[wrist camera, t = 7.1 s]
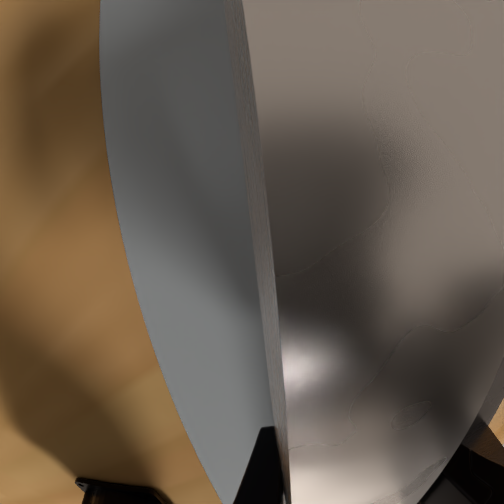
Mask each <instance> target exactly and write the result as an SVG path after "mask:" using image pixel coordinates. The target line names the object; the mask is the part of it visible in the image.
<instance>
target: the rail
mask: <svg viewBox="0 0 504 504" xmlns="http://www.w3.org/2000/svg"><path fill="white" fill-rule="evenodd" d="M223 2H224V10H225V18H226V26H227V35H228V43H229V51H230V59H231V67H232V75H233V84H234V92H235V100H236V108H237V117H238V125H239V133H240V141H241V150H242V158H243V166H244V175H245V183H246V191H247V200H248V208H249V216H250V225H251V233H252V242H253V250H254V258H255V267H256V275H257V284H258V292H259V300H260V309H261V317H262V326H263V334H264V343H265V351H266V360H267V368H268V377H269V385H270V394H271V402H272V411H273V420H274V428H275V435H276V441H277V446H278V451H279V457H280V462H281V471H282V481H283V491H284V504H417V503H418V502H419V500H420V499H421V498H422V497H423V496H424V494H425V493H426V492H427V491H428V489H429V488H430V487H431V485H432V484H433V483H434V481H435V480H436V479H437V477H438V476H439V475H440V473H441V472H442V470H443V469H444V468H445V466H446V465H447V463H448V462H449V460H450V459H451V457H452V456H453V454H454V453H455V451H456V450H457V448H458V447H459V445H460V443H461V442H462V440H463V438H464V437H465V435H466V433H467V432H468V430H469V428H470V427H471V425H472V423H473V421H474V419H475V418H476V416H477V414H478V412H479V410H480V408H481V406H482V404H483V402H484V400H485V398H486V396H487V394H488V392H489V390H490V388H491V385H492V383H493V381H494V379H495V376H496V374H497V372H498V369H499V367H500V365H501V362H502V360H503V357H504V0H223Z"/></svg>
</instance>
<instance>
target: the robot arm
mask: <svg viewBox="0 0 504 504" xmlns="http://www.w3.org/2000/svg"><path fill="white" fill-rule="evenodd" d="M75 484H76V485H77V486H78V487H79V488H80V489H81V490H83V491H84V492H85V494H84V498H83V501H82V504H166V502H165V501H164V500H163V499H162V498H161V497H160V496H159V495H158V493H157V492H156V491H155V490H153V489H149V488H141V487H131V486H123V485H116V484H109V483H103V482H97V481H91V480H86V479H81V478H76V480H75ZM233 504H284V491H283V481H282V471H281V462H280V457H279V451H278V446H277V441H276V435H275V428H274V426H266V427H261V428H260V430H259V433H258V436H257V439H256V442H255V445H254V448H253V451H252V453H251V456H250V459H249V462H248V465H247V467H246V470H245V473H244V476H243V478H242V481H241V484H240V486H239V489H238V492H237V494H236V497H235V499H234V502H233ZM417 504H504V466H503V465H500V464H498V463H496V462H494V461H491V460H489V459H488V458H486V457H484V456H482V455H480V454H478V453H477V452H475V451H473V450H470V448H468V447H466V446H465V445H463V444H461V443H460V445H459V447H458V448H457V450H456V451H455V453H454V454H453V456H452V457H451V459H450V460H449V462H448V463H447V465H446V466H445V468H444V469H443V470H442V472H441V473H440V475H439V476H438V477H437V479H436V480H435V481H434V483H433V484H432V485H431V487H430V488H429V489H428V491H427V492H426V493H425V494H424V496H423V497H422V498H421V499H420V500H419V502H418V503H417Z"/></svg>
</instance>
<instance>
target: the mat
mask: <svg viewBox="0 0 504 504" xmlns="http://www.w3.org/2000/svg"><path fill="white" fill-rule="evenodd" d="M99 51H100V81H101V98H102V110H103V121H104V131H105V139H106V148H107V155H108V162H109V169H110V176H111V182H112V188H113V193H114V199H115V204H116V210H117V215H118V220H119V225H120V229H121V234H122V238H123V243H124V247H125V251H126V256H127V260H128V264H129V268H130V272H131V275H132V279H133V283H134V287H135V290H136V294H137V297H138V301H139V304H140V308H141V311H142V314H143V318H144V321H145V324H146V327H147V330H148V333H149V336H150V339H151V342H152V345H153V348H154V351H155V354H156V357H157V360H158V363H159V365H160V368H161V371H162V374H163V376H164V379H165V382H166V384H167V387H168V389H169V392H170V394H171V397H172V399H173V402H174V404H175V407H176V409H177V411H178V414H179V416H180V419H181V421H182V423H183V425H184V428H185V430H186V432H187V434H188V437H189V439H190V441H191V443H192V445H193V447H194V449H195V452H196V454H197V456H198V458H199V460H200V462H201V464H202V466H203V468H204V470H205V472H206V474H207V476H208V478H209V479H210V481H211V483H212V485H213V487H214V489H215V491H216V493H217V494H218V496H219V498H220V500H221V501H222V503H223V504H233V502H234V499H235V497H236V494H237V492H238V489H239V486H240V484H241V481H242V478H243V476H244V473H245V470H246V467H247V465H248V462H249V459H250V456H251V453H252V451H253V448H254V445H255V442H256V439H257V436H258V433H259V430H260V428H261V427H266V426H274V420H273V411H272V402H271V394H270V385H269V377H268V368H267V360H266V351H265V343H264V334H263V326H262V317H261V309H260V300H259V292H258V284H257V275H256V267H255V258H254V250H253V242H252V233H251V225H250V216H249V208H248V200H247V191H246V183H245V175H244V166H243V158H242V150H241V141H240V133H239V125H238V117H237V108H236V100H235V92H234V84H233V75H232V67H231V59H230V51H229V43H228V35H227V26H226V18H225V10H224V2H223V0H101V2H100V31H99Z"/></svg>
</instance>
